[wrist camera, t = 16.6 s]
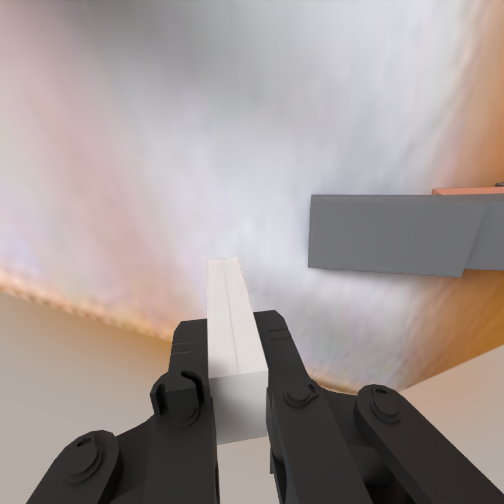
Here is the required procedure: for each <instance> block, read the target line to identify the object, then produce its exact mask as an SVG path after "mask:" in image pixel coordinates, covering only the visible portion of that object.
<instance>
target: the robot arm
mask: <svg viewBox="0 0 504 504" xmlns="http://www.w3.org/2000/svg"><path fill="white" fill-rule="evenodd" d="M206 279H207V319H199V320H190V321H181V322H180V324H179V325H178V327H177V328H176V330H175V331H174V335H173V342H172V349H171V356H170V363H169V370H168V372H167V373H165V374H164V375H162V376H161V377H160V378H159V379H158V380H157V381H156V383H155V384H154V385H153V388H152V390H151V392H150V398H151V402H152V406H153V409H154V415H153V416H151V417H150V418H149V419H148V420H147V421H145V422H144V423H142V424H140V425H139V426H137V427H135V428H133V429H131V430H129V431H126V432H124V433H122V434H120V435H118V436H116V437H115V436H114V435H113V433H111V432H108V431H105V430H99V431H91V432H89V433H87V434H85V435H82V436H80V437H78V438H77V439H75V440H74V441H73V442H71V443H70V444H69V445H68V446H66V447H65V448H64V449H63V451H62V452H61V453H60V454H59V456H58V457H57V458H56V459H55V460H54V462H53V463H52V465H51V466H50V468H49V469H48V471H47V473H46V474H45V475H44V477H43V478H42V480H41V481H40V483H39V484H38V486H37V488H36V489H35V491H34V492H33V494H32V495H31V497H30V498H29V500H28V501H27V503H26V504H220V493H219V470H218V461H217V445H220V444H225V443H231V442H236V441H242V440H247V439H252V438H258V437H264V436H267V430H268V435H269V440H270V444H271V448H270V474H273V473H274V478H275V482H276V488H277V492H278V497H279V502H280V504H504V494H503V493H502V492H501V491H500V490H499V489H498V488H497V487H496V486H495V485H494V484H493V483H492V482H491V481H490V480H489V479H488V478H487V477H486V476H485V475H484V474H482V473H481V472H480V471H479V470H478V469H477V468H476V467H475V466H474V465H473V464H472V463H471V462H470V461H469V460H468V459H467V458H466V457H465V456H464V455H463V454H462V453H461V452H460V451H459V450H458V449H457V448H456V447H455V446H454V445H452V443H450V441H448V440H447V439H446V438H445V437H444V436H443V435H442V434H441V433H440V432H439V431H438V430H437V429H436V428H435V427H434V426H433V425H432V424H431V423H430V422H429V421H428V420H427V419H426V418H425V417H424V416H423V415H422V414H421V413H419V411H418V410H417V409H416V408H415V407H413V406H412V405H411V404H410V403H409V402H408V401H407V400H406V399H405V398H404V397H403V396H401V395H400V394H399V393H398V392H396V391H395V390H393V389H390V388H388V387H386V386H383V385H376V384H372V385H367V386H364V387H363V388H362V389H361V390H359V392H358V395H357V396H355V395H349V394H342V393H336V392H332V391H328V390H326V389H324V388H322V387H320V386H319V385H318V384H317V382H315V381H314V380H313V379H311V378H310V377H309V375H308V373H307V372H306V369H305V367H304V365H303V362H302V360H301V358H300V355H299V353H298V351H297V348H296V346H295V343H294V341H293V339H292V336H291V334H290V332H289V330H288V327H287V325H286V322H285V320H284V318H283V317H282V316H281V315H280V314H279V313H278V312H277V311H275V310H270V311H262V312H253V311H252V307H251V304H250V300H249V296H248V293H247V289H246V285H245V281H244V278H243V274H242V270H241V266H240V263H239V259H238V257H236V258H224V259H212V260H206Z"/></svg>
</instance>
